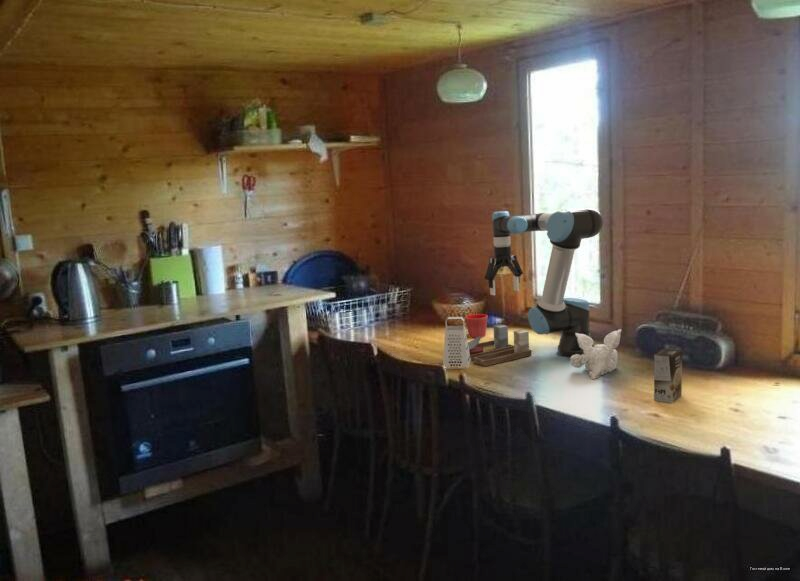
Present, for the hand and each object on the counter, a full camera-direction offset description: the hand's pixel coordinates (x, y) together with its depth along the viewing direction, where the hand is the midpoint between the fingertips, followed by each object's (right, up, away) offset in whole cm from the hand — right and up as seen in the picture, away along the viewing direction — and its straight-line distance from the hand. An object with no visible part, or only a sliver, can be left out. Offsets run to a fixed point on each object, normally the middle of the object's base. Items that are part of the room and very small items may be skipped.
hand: (504, 292), depth 327 cm
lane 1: (-12, -26, -12) cm, 31 cm away
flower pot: (-11, -21, +19) cm, 30 cm away
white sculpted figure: (+28, -31, -49) cm, 65 cm away
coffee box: (+43, -36, -83) cm, 100 cm away
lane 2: (-5, -28, -24) cm, 37 cm away
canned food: (-16, -27, -14) cm, 35 cm away
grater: (-24, -30, -27) cm, 47 cm away
